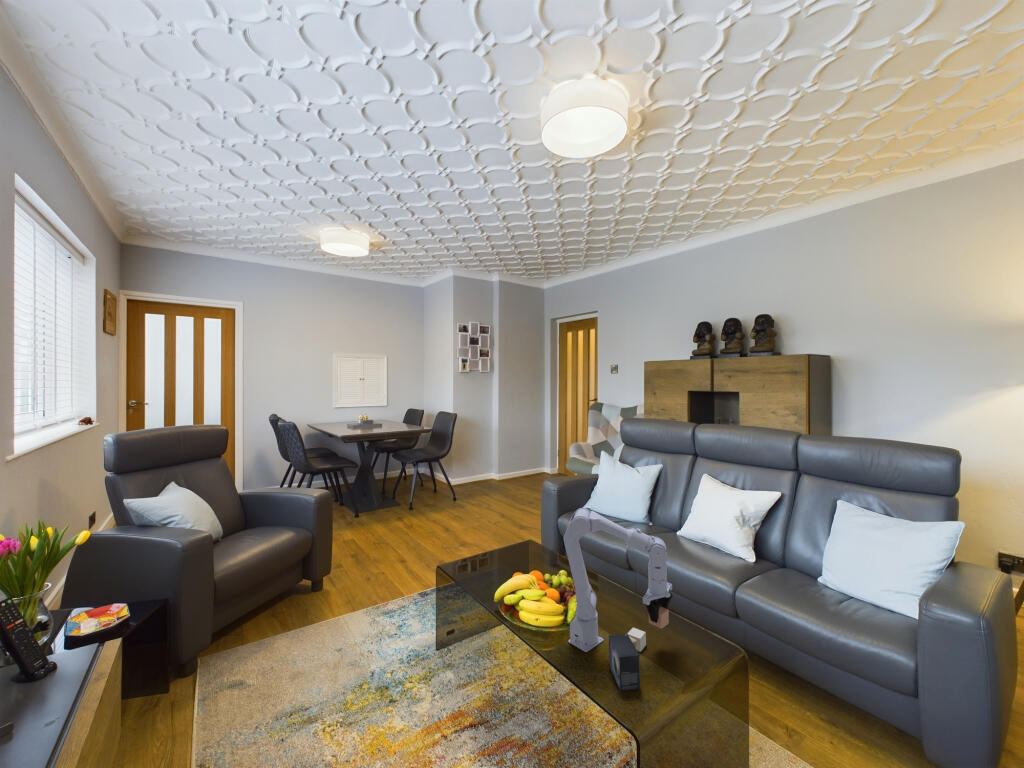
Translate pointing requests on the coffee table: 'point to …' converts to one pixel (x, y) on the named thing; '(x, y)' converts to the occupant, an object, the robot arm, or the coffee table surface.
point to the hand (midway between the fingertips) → (658, 618)
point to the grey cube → (638, 638)
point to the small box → (624, 662)
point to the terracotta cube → (661, 618)
